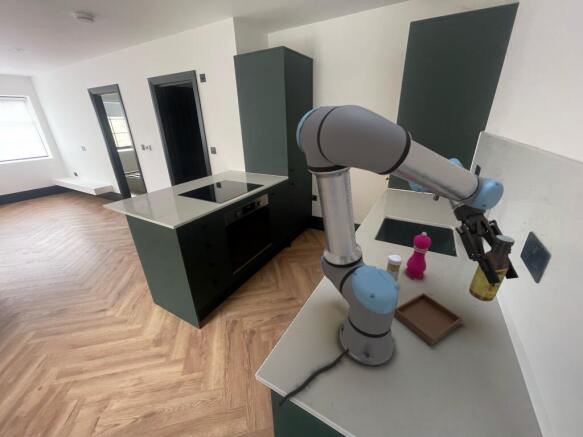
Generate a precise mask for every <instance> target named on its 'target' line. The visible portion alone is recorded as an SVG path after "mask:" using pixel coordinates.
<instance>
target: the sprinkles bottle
mask: <svg viewBox="0 0 583 437" xmlns="http://www.w3.org/2000/svg"><path fill="white" fill-rule="evenodd" d="M402 262H403V258H402V257H401V256H399V255H397V254H390V255H389V256H388V258H387V267H386V270H385V271H386V272H388V273H389V274H390V275H391V276H392V277H393V278H394V279H395V281H396V283H397V282H398V281H399V280H398V279H399V275H400V270H401V265H402ZM397 284H398V283H397Z"/></svg>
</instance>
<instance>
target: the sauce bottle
mask: <svg viewBox="0 0 583 437" xmlns="http://www.w3.org/2000/svg"><path fill="white" fill-rule="evenodd" d="M515 242H516V240H515V239H514V238H512V237H511V236H508V235H504V234H503V235H497V236H496V237H495V239H494V244H493V246H492V247H490V249H489V250H488V251H486V252H485V256H486V259H490V261H491V263H492V265H493V267H494V269H495V271H496V273H497V275H498V277H499V279H500V281H501V282H500V283H493V284H489V283H488V280H487V278H486V276H485V274H484V272H483V271H482V270H481V268H480V266H479V264H478V265H477V267H476V270H475V272H474V275H473V277H472V279H471V281H470V285H469V288H468V291H469V294H470V295H471V296H472V297H473V298H475V299H477V300H479V301H482V302H492V301H493V300H494V299H495V297H496V296H497V294H498V292H499V290H500V288H501V286H502V283H503V281H504V280H505V278H506V277H505V275H506V273H507V271H508V269H509V259H510V257H509V255H510V254H509V252H510V249H511V250H512V247H514V245H515Z"/></svg>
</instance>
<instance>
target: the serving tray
mask: <svg viewBox="0 0 583 437" xmlns="http://www.w3.org/2000/svg"><path fill="white" fill-rule="evenodd" d="M394 317H395V318H396V319H398V321H400V322H401V323H402V324H403V325H405V326H406V327H407V328H408V329H410V330H411V331H412V332H413V333H414V334H416V335H417V336H418V337H419V338H421V339H422V340H423V341H424V342H425V343H427V344H428V345H429V346H430V347H432V346H433V345H435V344H436V343H438V342H439V341H440V340H442V339H443V338H444V337H445V336H447V335H449V334H450V333H451V332H453V331H454V330H455V329H457V328H458V327H459V326H461V324H462V321H463V317H461V316H459V315H458V314H456V313H455V312H453V311H452V310H451V309H449V308H447V306H444V305H443V304H441V303H440V302H438V301H437V300H435V299H433V298H432V297H431V296H429V295H427V294H426V293H424V292H422V293H420V294H419V295H417V296H415V297H413V298H412V299H410V300H408V301H406V302H404V303H402V304H401V305H399V306H396V309H395V313H394Z"/></svg>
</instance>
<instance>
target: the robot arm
mask: <svg viewBox="0 0 583 437" xmlns="http://www.w3.org/2000/svg"><path fill="white" fill-rule="evenodd" d="M297 125H298V126H297V129H296V143H297V146H298V147H299V150H301V152H302V153H303V154H305V159H306V163H307V169H308V171H309V172H310V173H311V174H312V175H314V176H315V181H316V188H317V192H318V198H319V204H320V210H321V217H322V221H323V222H322V223H323V229H324V235H325V242H326V246H325V248H324V249H323V255H321V256H320V257H321V258H320V267H321V270H322V273H323V274H324V276H325V277H326V279H327V280H329V281H330V282H331V284H332V285H333V286H334V288H335V289H336V290H337V291H338V293H339V294H340V295H341V296H342V297H343V299H344V300H345V301H346V303H347V304H348V313H347V317H346V318H345V319H344V321H343V323H342V324H341V327H340V329H339V343H340V346H341V348H342V349H343V351H342V353H340V355H338V356H337V357H336V359H335V360H333V361H332V362H331V363H329V364H328V365H325V366H323V367H321V368H318V369H317V370H316V371H314V372H313V373H312V374H310V376H308V378H307V379H306V380H305V381H304V382H303V383H302V384H301V385H300V386H298V387H297V388H296V389H294V390H292V391H290V392H289V393H287V394H285V395H284V396H283V397H282V399H281V400H280V401H279V402H278V407H281V406H283V404H284V403H285V402H286V401H287V400H288V399H289V398H290V397H293V396H294V395H296V394H297V393H299V392H301V391H302V390H303V389H304V388H305V387H306V386H307V385H308V384H309V383H310V381H312V379H314V378H315V377H316V376H318V375H319V374H320V373H322V372H324V371H327V370H329V369H331V368H332V367H333V366H335V365H336V364H337V363H338V362H339V361H340V360H342V358H343V357H344V356H345V355H348V356H349V357H350V358H351V359H352V360H354V361H355V362H357V363H359V364H362V365H365V366H371V367H377V366H381V365H385V364H386V363H388V362H389V360H391V358H392V356H393V353H394V348H395V343H394V337H393V334H392V324H393V320H394V317H395V316H394V313H395V309H396V308H397V307H398V306H397V305H398V300H399V285H398V283H396V281H395V279H394V278H393V277H392V276H391V275H390V274H389V273H388V272H386V271H387V270H385V269H383V268H381V267H380V268H377V266H374V265H367V264H366V263H365V262H364V260H363V259H364V257H363V250H362V247H361V245H360V244H358V243H357V240H356V239H357V237H356V229H355V228H356V227H355V217H354V216H355V215H354V207H353V195H352V183H351V174H350V171H351V169H352V168H353V169H358V170H364V171H366V172H371V173H373V174H377V175H380V176H389V175H392V176H395V177H397V178H400V179H402V180H404V181H407V182H408V185H409V187H410V189H411V190H412V191H413V192H415V193H421V194H424V193H429V194H432V195H436V196H438V197H442V198H445V199H446V200H447V202H448V204H449V207H450V209H451V210H453V211H452V212H453V215H454V217H455V219H456V221H458V222H461V225H459V226H457V227H455V228H454V229H455V231H456V233H457V234H458V236H459V238H460V240H461V243H462V245H463V247H464V248H463V249H464V250H465V252H466V255H467V257H468V259H469V260H470V261H471V260H472V261H473V262H477V264H478V265H479V266H480V268H481V270H482V271H483V272H484V274H485V276H486V278H487V280H488V283H489V284H493V283H500V282H501V281H500V279H499V277H498V275H497V273H496V271H495V269H494V267H493V265H492V263H491V261H490V259H486V256H485V253H486V252H485V248H484V243H483V240H484V241H485V242H486V244H488V246H489V247H490V248H491V247H492V246H493V244H494V239H495V237H496V236H497V235H504V234H503V232H502V231H501V229H500V228H499V225H498V222H497V221H496V219H492V220H489V219H487V217H486V216H485V214H486V213H487V211H489V210H491V209H493V208H494V207H496V206H497V205H498V203H499V202H500V201H501V199H502V198H503V195H504V191H505V188H504V185H503V182H500V181H498V180H494V179H492V178H487V177H482V176H480V175H477V174H476V173H473V172H472V171H470V170H468V169H466V168H465V167H464V165H462V163H461V162H460V160H459V159H457V158H454V157H453V158H449V159H448V158H446V157H444V156H442V155H440V154H439V153H437V152H435V151H433V150H431V149H430V148H428V147H426V146H424V145H423V144H420V143H418V142H416V141H415V140H413V139H412V135H411V132H410V131H408V130H407V129H405V128H404V127H402V126H401V125H398V124H397V123H395V122H394V121H391V120H390V119H388V118H386V117H384V116H383V115H381V114H379V113H377V112H374V111H373V110H371V109H369V108H366V107H363V106H361V105H357V104H356V105H355V104H344V105H324V106H319V107H316V108H313V109H311V110H309V111H307V113H305V114H304V115H303V116H302V118H301V119H300V121H299V122H298V124H297ZM482 238H483V239H482ZM510 254H512V248H511V249H510V252H509V254H508V255H510ZM504 278H505V279H506V280H512V279H519V278H520V277H519V275H518V273H517V271H516V269H515V267H514V265H513V262H512V260H511V259H510V258H509V269H508V271H507V273H506V275H505V277H504Z"/></svg>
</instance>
